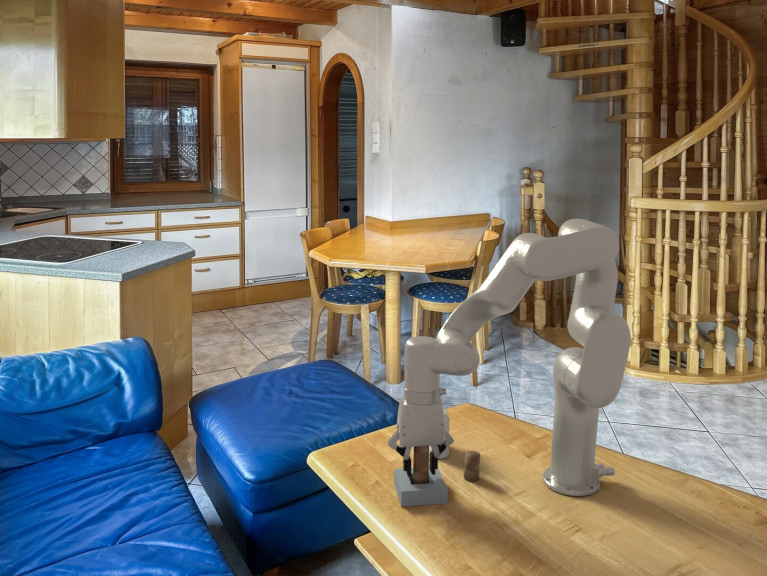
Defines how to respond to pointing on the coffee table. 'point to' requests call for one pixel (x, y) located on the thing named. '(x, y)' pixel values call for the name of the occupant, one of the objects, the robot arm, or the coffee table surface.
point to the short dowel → (472, 466)
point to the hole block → (420, 489)
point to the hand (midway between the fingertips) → (420, 471)
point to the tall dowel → (421, 465)
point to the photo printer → (446, 417)
